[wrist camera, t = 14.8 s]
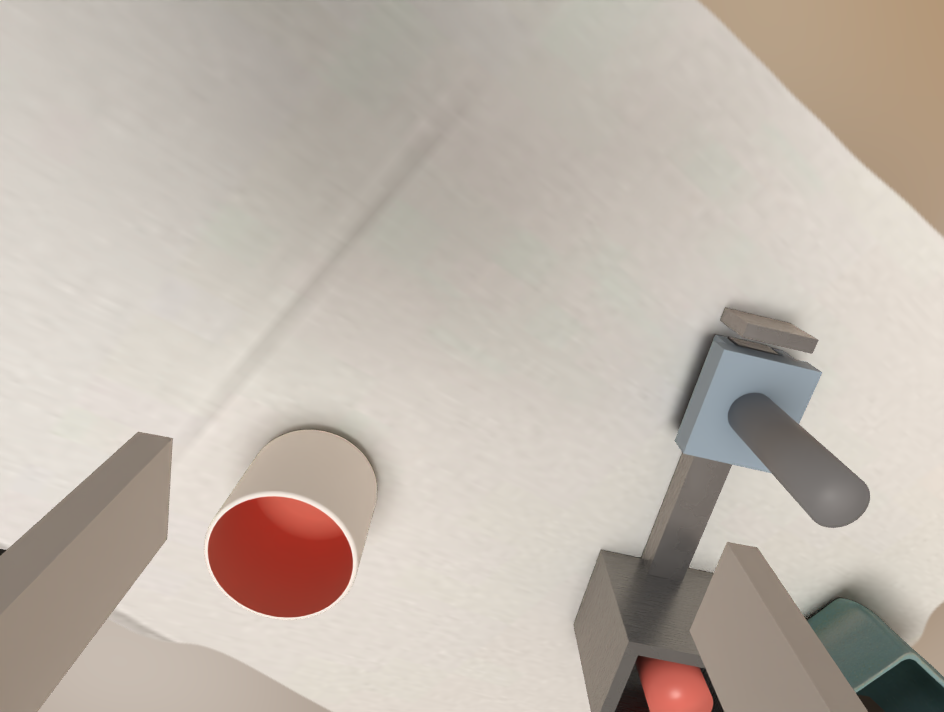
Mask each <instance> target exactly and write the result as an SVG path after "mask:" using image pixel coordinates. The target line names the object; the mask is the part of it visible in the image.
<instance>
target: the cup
mask: <svg viewBox="0 0 944 712" xmlns="http://www.w3.org/2000/svg"><path fill="white" fill-rule="evenodd" d="M376 500H377V482H376V477H375V474H374V471H373V469H372V467H371V465H370V463H369V461H368V460H367V458H366V457H365V456H364V454H363V453H362V452H361V451H360V450H359V449H358V448H357V447H356V446H354V445H353V444H352V443H351V442H349V441H347V440H346V439H344V438H342V437H340V436H338V435H335V434H333V433H329V432H326V431H320V430H298V431H293V432H289V433H286V434H284V435H281V436H279V437H277V438H275V439H274V440H272V441H271V442H269V443H268V444H267V445H266V446H265V447H264V448H263V449H262V450H261V451H260V452H259V453H258V455H257V456H256V457H255V459H254V460H253V462H252V463H251V465H250V466H249V468H248V469H247V471H246V472H245V473H244V475H243V476H242V478H241V479H240V481H239V482H238V484H237V485H236V487H235V488H234V489H233V491H232V492H231V494H230V495H229V497H228V498H227V500H226V501H225V503H224V504H223V505H222V507H221V508H220V510H219V511H218V513H217V514H216V516H215V517H214V519H213V520H212V522H211V523H210V525H209V527H208V530H207V533H206V537H205V542H204V556H205V561H206V565H207V568H208V571H209V573H210V575H211V577H212V579H213V580H214V582H215V583H216V585H217V586H218V587H219V589H220V590H221V591H222V592H223V593H224V594H225V595H226V596H227V597H228V598H229V599H231V600H232V601H233V602H234V603H236V604H237V605H239V606H241V607H242V608H244V609H246V610H248V611H250V612H252V613H255V614H258V615H261V616H264V617H268V618H273V619H281V620H296V619H304V618H308V617H313V616H315V615H318V614H321V613H323V612H325V611H327V610H329V609H331V608H332V607H334V606H335V605H336V604H338V603H339V602H340V601H341V600H342V599H343V598H344V597H345V596H346V594H347V593H348V592H349V590H350V589H351V587H352V585H353V583H354V581H355V578H356V575H357V571H358V567H359V564H360V560H361V556H362V552H363V549H364V545H365V541H366V538H367V534H368V530H369V527H370V523H371V519H372V516H373V512H374V508H375V505H376Z"/></svg>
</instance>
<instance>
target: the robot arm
mask: <svg viewBox="0 0 944 712" xmlns="http://www.w3.org/2000/svg"><path fill="white" fill-rule="evenodd" d="M172 442H173V438H169V437H163V436H158V435H153V434H147V433H142V432H137V433H136V434H135V435H134V436H133V437H132V438H131V439H130V440H128V441H127V442H126V443H125V444H124V445H123V446H122V447H121V448H120V449H118V450H117V451H116V452H115V453H114V454H113V455H112V456H111V457H110V458H108V459H107V460H106V461H105V462H104V463H103V464H102V465H101V466H100V467H98V468H97V469H96V470H95V471H94V472H93V473H92V474H91V475H90V476H88V477H87V478H86V479H85V480H84V481H83V482H82V483H81V484H80V485H78V486H77V487H76V488H75V489H74V490H73V491H72V492H71V493H70V494H68V495H67V496H66V497H65V498H64V499H63V500H62V501H61V502H60V503H58V504H57V505H56V506H55V507H54V508H53V509H52V510H51V511H50V512H48V513H47V514H46V515H45V516H44V517H43V518H42V519H41V520H40V521H38V522H37V523H36V524H35V525H34V526H33V527H32V528H31V529H30V530H28V531H27V532H26V533H25V534H24V535H23V536H22V537H21V538H20V539H18V540H17V541H16V542H15V543H14V544H13V545H12V546H11V547H10V548H8V549H7V550H3V549H0V712H37V711H38V710H39V709H40V708H41V706H42V705H43V703H44V702H45V701H46V699H47V698H48V697H49V696H50V694H51V693H52V692H53V690H54V689H55V687H56V686H57V685H58V684H59V682H60V681H61V680H62V678H63V677H64V676H65V674H66V673H67V672H68V670H69V669H70V668H71V666H72V665H73V664H74V662H75V661H76V660H77V658H78V657H79V656H80V654H81V653H82V652H83V650H84V649H85V648H86V646H87V645H88V643H89V642H90V641H91V640H92V638H93V637H94V636H95V634H96V633H97V632H98V630H99V629H100V628H101V626H102V625H103V624H104V622H105V621H106V620H107V618H108V617H109V616H110V614H111V613H112V612H113V610H114V609H115V608H116V606H117V605H118V604H119V602H120V601H121V600H122V598H123V597H124V596H125V594H126V593H127V592H128V590H129V589H130V588H131V586H132V585H133V584H134V582H135V581H136V580H137V578H138V577H139V576H140V574H141V573H142V572H143V570H144V569H145V568H146V566H147V565H148V564H149V562H150V561H151V560H152V558H153V557H154V556H155V554H156V553H157V552H158V550H159V549H160V548H161V546H162V545H163V544H164V542H165V541H166V540H167V533H168V515H169V496H170V478H171V460H172ZM690 633H691V635H692V638H693V640H694V642H695V645H696V647H697V649H698V652H699V654H700V656H701V659H702V661H703V663H704V666H705V668H706V670H707V673H708V675H709V677H710V680H711V682H712V684H713V687H714V689H715V692H716V694H717V696H718V699H719V701H720V703H721V706H722V708H723V710H724V712H885V711H884V710H883V709H882V708H881V707H880V706H879V705H878V704H877V703H876V702H875V701H874V700H872V699H871V698H870V697H868V696H863V695H857V694H856V693H855V691H854V690H853V688H852V687H851V685H850V684H849V683H848V681H847V680H846V678H845V677H844V675H843V674H842V672H841V671H840V669H839V668H838V666H837V665H836V663H835V662H834V660H833V659H832V657H831V656H830V654H829V653H828V651H827V650H826V648H825V647H824V645H823V644H822V643H821V641H820V640H819V638H818V637H817V635H816V634H815V632H814V631H813V629H812V628H811V626H810V625H809V623H808V622H807V620H806V619H805V617H804V616H803V614H802V613H801V611H800V610H799V608H798V607H797V605H796V604H795V603H794V601H793V600H792V598H791V597H790V595H789V594H788V592H787V591H786V589H785V588H784V586H783V585H782V583H781V582H780V580H779V579H778V577H777V576H776V574H775V573H774V571H773V570H772V568H771V567H770V566H769V564H768V563H767V561H766V560H765V558H764V557H763V555H762V554H761V552H760V551H759V549H758V548H757V547H751V546H746V545H741V544H735V543H730V542H727V543H726V546H725V548H724V550H723V553H722V555H721V558H720V560H719V562H718V565H717V567H716V569H715V572H714V574H713V576H712V579H711V581H710V584H709V586H708V588H707V591H706V593H705V595H704V598H703V600H702V602H701V605H700V607H699V610H698V612H697V614H696V617H695V619H694V621H693V624H692V626H691V628H690Z"/></svg>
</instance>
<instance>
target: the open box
mask: <svg viewBox="0 0 944 712" xmlns="http://www.w3.org/2000/svg"><path fill="white" fill-rule="evenodd" d="M713 574H714V573H710V572H705V571H700V570H696V569H691V568H688V569H687V572H686V574H685V576H684V579H683V581H679V580H674V579H669V578H664V577H660V576H655V575H650V574H647V572H646V570H645V567H644V565H643V562H642V560H641V558H638V557H633V556H628V555H623V554H618V553H614V552H609V551H604V550H601V551H600V554H599V556H598V559H597V562H596V565H595V567H594V570H593V573H592V576H591V578H590V581H589V584H588V587H587V589H586V592H585V595H584V597H583V600H582V603H581V606H580V608H579V611H578V614H577V617H576V619H575V622H574V629H575V634H576V639H577V644H578V649H579V654H580V659H581V664H582V669H583V674H584V679H585V684H586V689H587V694H588V699H589V704H590V709H591V712H650V710H649V707H648V704H647V700H646V697H645V694H644V690H643V687H642V684H641V681H640V677H639V674H638V671H637V667H636V664H635V662H636V659H637V657H638V655H639V656H644V657H649V658H654V659H659V660H665V661H670V662H675V663H680V664H685V665H690V666H695V667H700V670H701V672H702V674H703V677H704V679H705V681H706V684H707V686H708V688H709V691H710V693H711V696H712V698H713V707H712V710H711V712H724V710H723V708H722V706H721V703H720V701H719V699H718V696H717V694H716V692H715V689H714V687H713V684H712V682H711V680H710V677H709V675H708V673H707V670H706V668H705V666H704V663H703V661H702V659H701V656H700V654H699V652H698V649H697V647H696V645H695V642H694V640H693V638H692V635H691V633H690V628H691V626H692V624H693V621H694V619H695V617H696V614H697V612H698V610H699V607H700V605H701V602H702V600H703V598H704V595H705V593H706V591H707V588H708V586H709V584H710V581H711V579H712V576H713Z"/></svg>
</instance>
